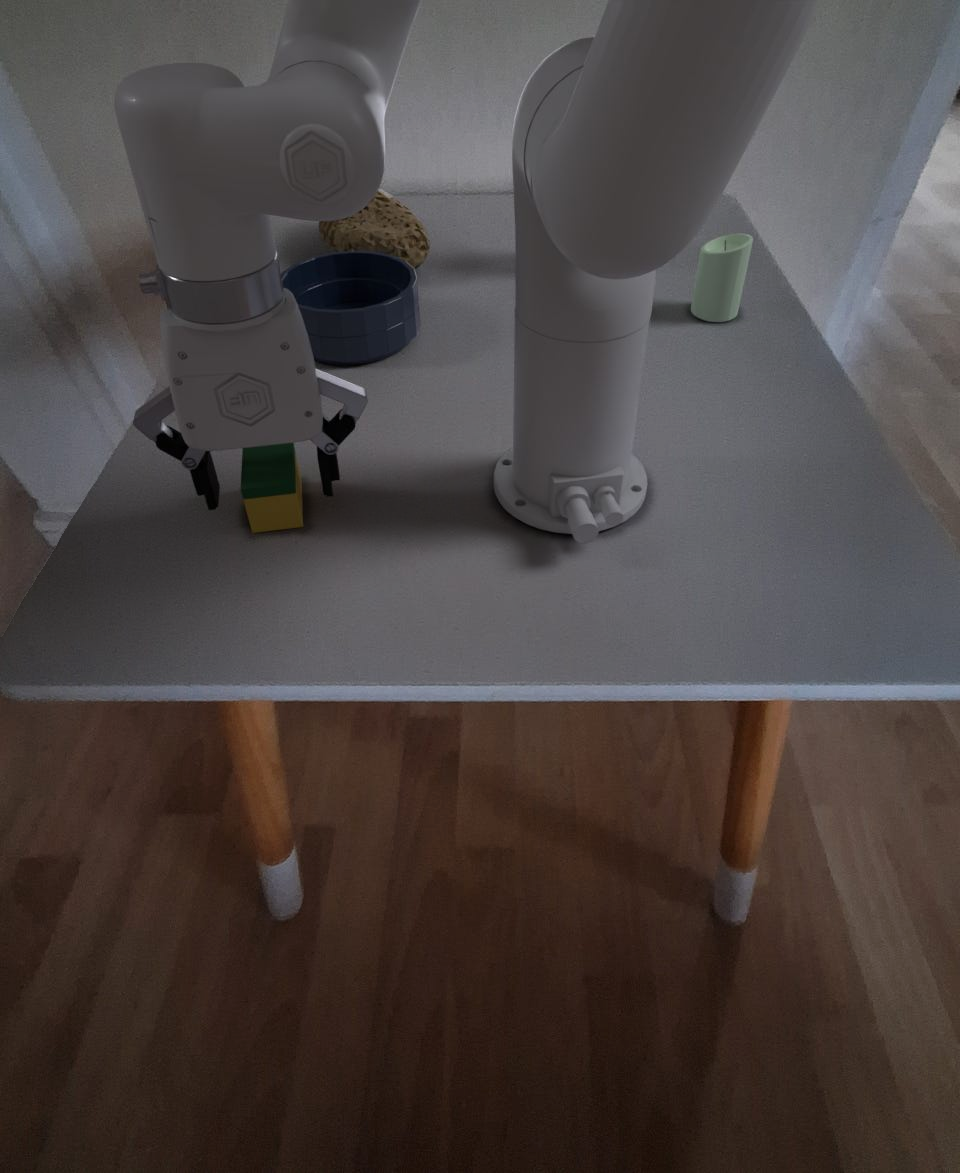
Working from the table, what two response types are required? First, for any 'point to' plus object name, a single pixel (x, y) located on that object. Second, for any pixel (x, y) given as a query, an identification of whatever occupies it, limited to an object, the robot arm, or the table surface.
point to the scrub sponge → (272, 487)
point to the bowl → (355, 305)
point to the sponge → (379, 231)
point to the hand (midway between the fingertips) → (271, 492)
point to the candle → (721, 277)
